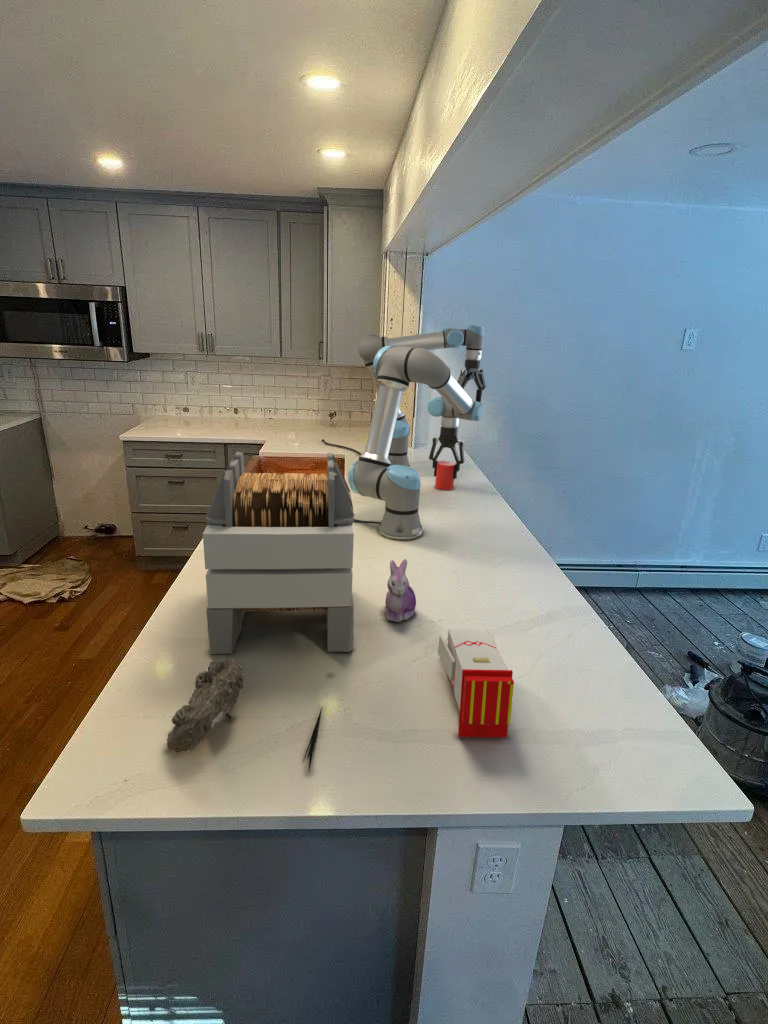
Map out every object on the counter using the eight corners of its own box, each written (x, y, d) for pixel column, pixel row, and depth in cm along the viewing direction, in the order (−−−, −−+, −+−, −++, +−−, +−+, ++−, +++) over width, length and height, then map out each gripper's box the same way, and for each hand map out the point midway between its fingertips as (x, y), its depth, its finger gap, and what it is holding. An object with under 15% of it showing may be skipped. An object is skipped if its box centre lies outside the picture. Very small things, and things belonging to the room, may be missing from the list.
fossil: (192, 660, 117) (244, 628, 112) (224, 691, 120) (276, 661, 115) (142, 746, 98) (202, 712, 93) (182, 779, 101) (242, 748, 96)
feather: (331, 679, 122) (336, 673, 122) (307, 777, 96) (313, 769, 95) (324, 675, 122) (329, 669, 121) (298, 772, 95) (304, 764, 95)
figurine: (392, 627, 141) (395, 572, 136) (374, 608, 149) (376, 556, 144) (425, 619, 145) (429, 566, 140) (405, 601, 154) (408, 550, 149)
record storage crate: (229, 585, 158) (221, 442, 144) (346, 584, 161) (350, 444, 148) (206, 656, 126) (193, 481, 112) (353, 652, 130) (358, 483, 116)
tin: (432, 484, 257) (434, 460, 253) (450, 484, 259) (452, 460, 255) (437, 490, 249) (439, 465, 246) (455, 490, 251) (458, 465, 247)
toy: (488, 613, 130) (523, 677, 101) (484, 667, 133) (517, 744, 104) (435, 612, 130) (455, 676, 101) (432, 666, 133) (451, 743, 103)
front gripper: (475, 427, 245) (470, 478, 252) (428, 422, 252) (424, 471, 259) (471, 430, 238) (466, 482, 246) (423, 425, 245) (420, 475, 252)
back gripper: (461, 360, 260) (457, 407, 267) (495, 359, 276) (491, 403, 283) (449, 359, 265) (445, 404, 273) (483, 358, 281) (479, 401, 288)
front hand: (445, 476), depth 252 cm, fingers closed on tin, 8 cm apart
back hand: (468, 404), depth 278 cm, fingers open, 13 cm apart
